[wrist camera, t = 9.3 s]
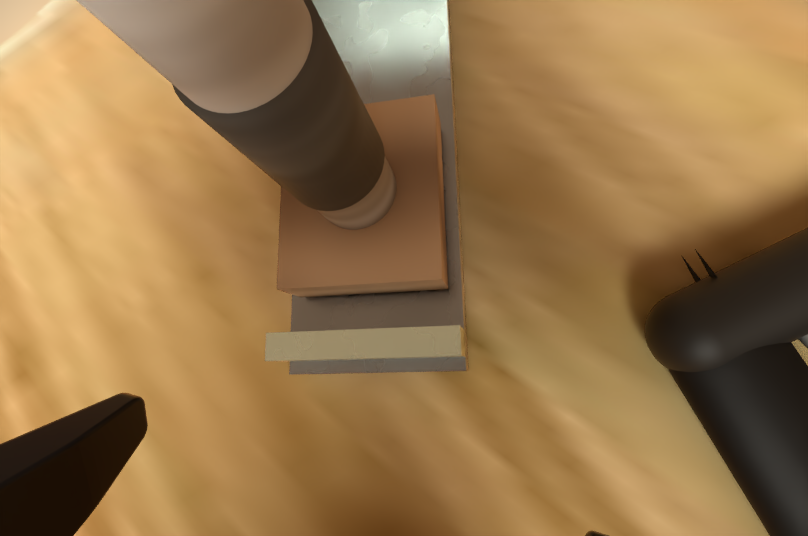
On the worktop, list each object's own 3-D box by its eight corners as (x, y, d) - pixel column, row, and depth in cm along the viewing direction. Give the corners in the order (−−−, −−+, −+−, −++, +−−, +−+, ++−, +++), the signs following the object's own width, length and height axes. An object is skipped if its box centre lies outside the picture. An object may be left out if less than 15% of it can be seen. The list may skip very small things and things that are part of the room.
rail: (481, 369, 17) (470, 373, 10) (280, 374, 19) (136, 379, 11) (454, -78, 22) (433, -307, 15) (296, -44, 24) (204, -235, 16)
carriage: (448, 289, 17) (338, 109, 5) (300, 297, 18) (-74, 166, 6) (440, 122, 18) (343, -314, 6) (305, 140, 19) (14, -206, 8)
